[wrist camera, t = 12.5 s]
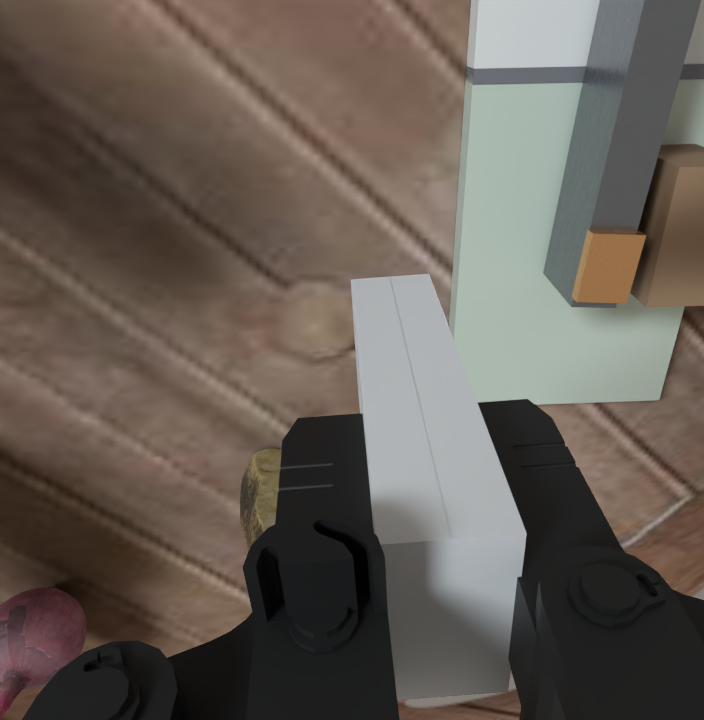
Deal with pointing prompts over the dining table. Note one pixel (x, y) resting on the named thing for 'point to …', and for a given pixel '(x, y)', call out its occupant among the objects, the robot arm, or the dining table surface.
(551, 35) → the door plate
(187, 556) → the dining table surface
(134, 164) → the dining table surface
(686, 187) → the block
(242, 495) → the rock
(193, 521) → the dining table surface
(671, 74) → the bar
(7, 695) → the vegetable
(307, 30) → the dining table surface
